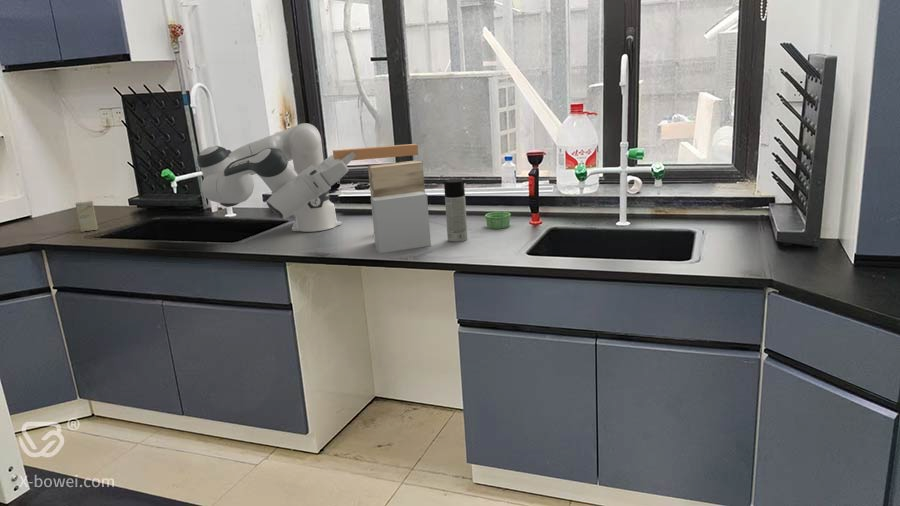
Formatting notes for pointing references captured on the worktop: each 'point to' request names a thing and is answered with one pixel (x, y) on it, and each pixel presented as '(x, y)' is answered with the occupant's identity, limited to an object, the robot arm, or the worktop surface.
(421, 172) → the beige rectangular block
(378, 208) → the base
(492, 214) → the ramekin
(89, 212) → the skincare box
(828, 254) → the worktop surface
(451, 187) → the spray can
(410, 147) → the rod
